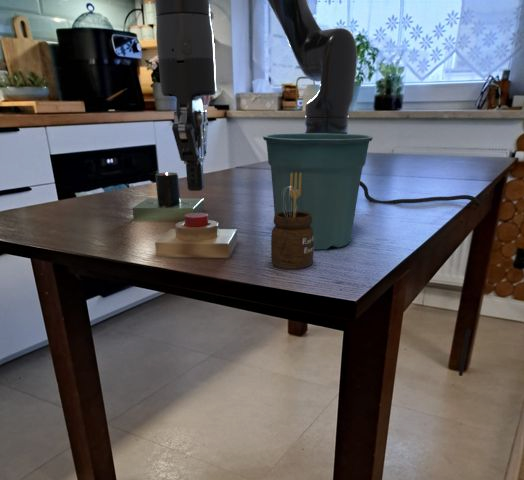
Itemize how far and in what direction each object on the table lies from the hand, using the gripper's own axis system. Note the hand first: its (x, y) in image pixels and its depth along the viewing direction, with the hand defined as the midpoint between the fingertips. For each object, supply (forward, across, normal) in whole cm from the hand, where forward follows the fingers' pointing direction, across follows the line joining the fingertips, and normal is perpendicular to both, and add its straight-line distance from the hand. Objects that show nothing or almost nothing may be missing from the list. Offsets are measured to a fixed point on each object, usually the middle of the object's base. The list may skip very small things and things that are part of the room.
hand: (196, 189), depth 77 cm
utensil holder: (+9, +7, +15) cm, 19 cm away
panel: (+9, -25, -11) cm, 29 cm away
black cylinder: (+7, -25, -11) cm, 28 cm away
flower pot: (+9, -6, +18) cm, 21 cm away
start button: (+6, 0, 0) cm, 6 cm away
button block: (+9, 0, 0) cm, 9 cm away
